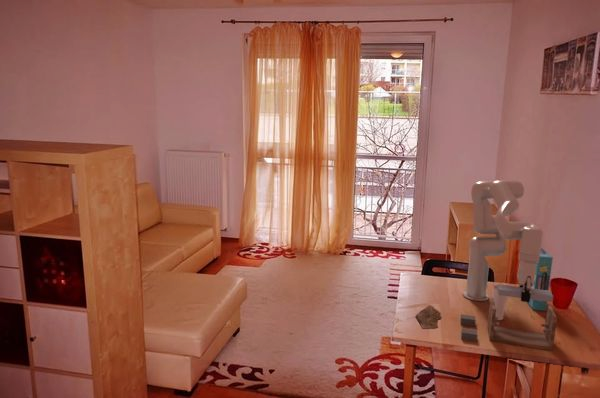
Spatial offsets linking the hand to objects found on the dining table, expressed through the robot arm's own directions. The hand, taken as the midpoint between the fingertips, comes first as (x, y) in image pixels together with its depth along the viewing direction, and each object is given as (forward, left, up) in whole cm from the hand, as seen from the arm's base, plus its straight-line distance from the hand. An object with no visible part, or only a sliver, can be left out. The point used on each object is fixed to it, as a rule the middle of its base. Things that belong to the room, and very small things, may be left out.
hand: (523, 297), depth 189 cm
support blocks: (0, -20, -18) cm, 27 cm away
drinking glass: (-17, -7, -19) cm, 26 cm away
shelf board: (0, 0, +1) cm, 1 cm away
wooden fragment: (-8, -37, -19) cm, 42 cm away
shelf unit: (0, 0, -18) cm, 18 cm away
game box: (-43, +12, -19) cm, 48 cm away
